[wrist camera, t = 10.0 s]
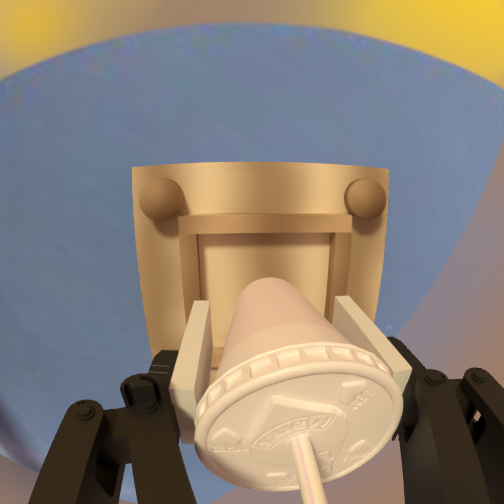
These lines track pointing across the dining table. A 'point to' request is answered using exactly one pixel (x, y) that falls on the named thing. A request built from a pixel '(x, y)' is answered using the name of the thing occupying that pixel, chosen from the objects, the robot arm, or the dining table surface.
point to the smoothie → (292, 398)
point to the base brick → (254, 238)
